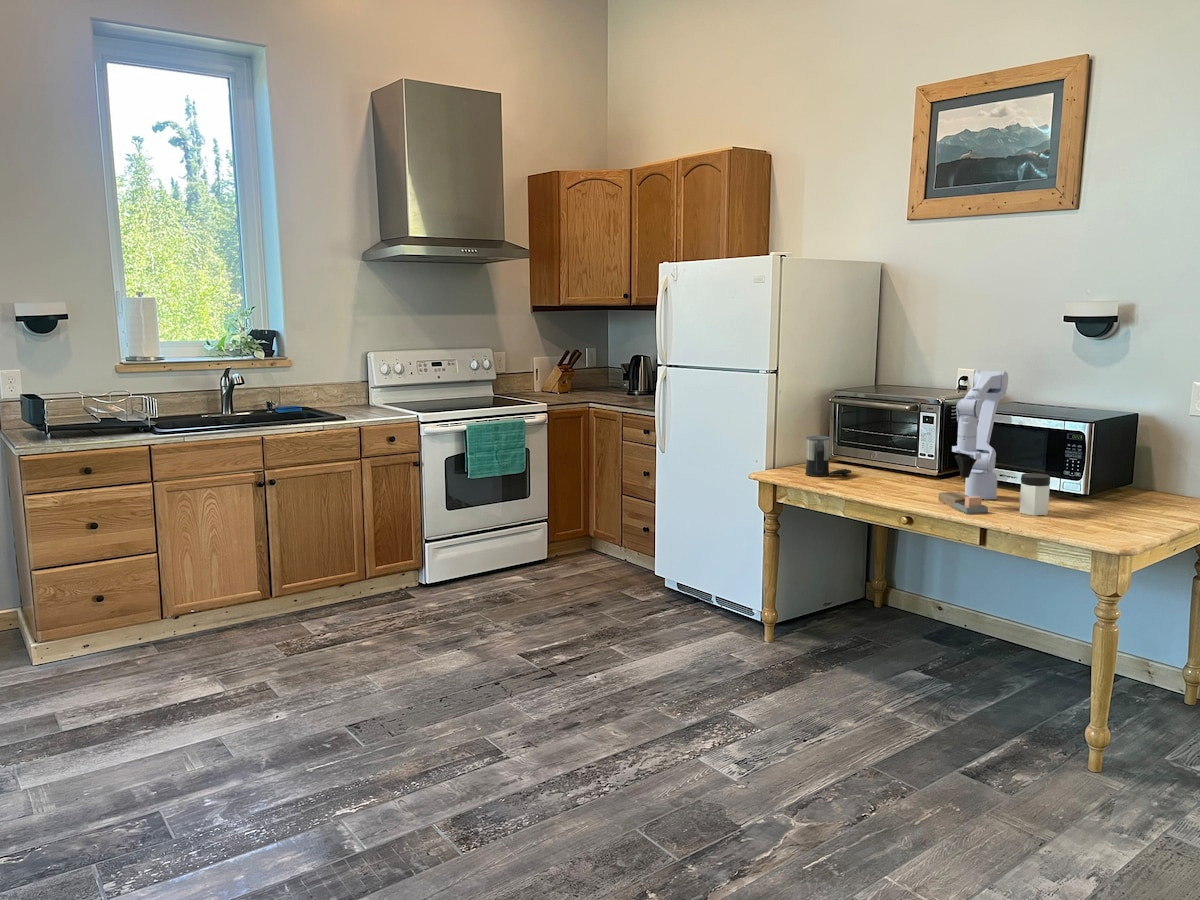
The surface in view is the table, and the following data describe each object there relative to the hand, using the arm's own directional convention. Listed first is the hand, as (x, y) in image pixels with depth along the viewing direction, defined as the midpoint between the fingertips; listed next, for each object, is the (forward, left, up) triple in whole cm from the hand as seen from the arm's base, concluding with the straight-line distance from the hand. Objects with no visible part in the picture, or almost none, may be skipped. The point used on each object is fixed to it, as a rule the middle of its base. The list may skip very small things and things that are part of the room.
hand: (964, 477), depth 281 cm
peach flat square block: (+2, +8, -7) cm, 10 cm away
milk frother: (+25, -56, -10) cm, 62 cm away
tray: (+1, +7, -9) cm, 12 cm away
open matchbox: (+1, -2, -9) cm, 10 cm away
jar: (-16, +13, -10) cm, 23 cm away
